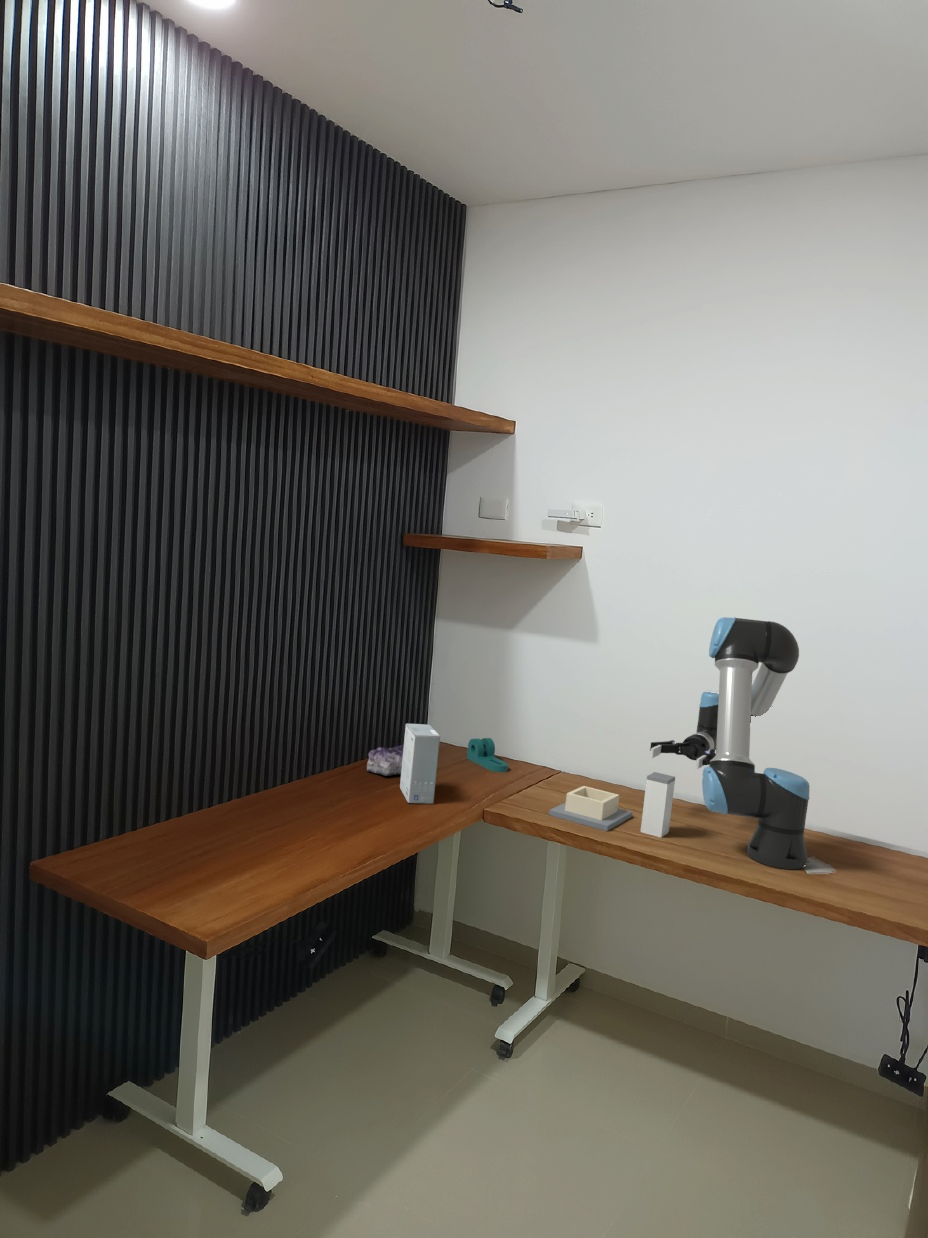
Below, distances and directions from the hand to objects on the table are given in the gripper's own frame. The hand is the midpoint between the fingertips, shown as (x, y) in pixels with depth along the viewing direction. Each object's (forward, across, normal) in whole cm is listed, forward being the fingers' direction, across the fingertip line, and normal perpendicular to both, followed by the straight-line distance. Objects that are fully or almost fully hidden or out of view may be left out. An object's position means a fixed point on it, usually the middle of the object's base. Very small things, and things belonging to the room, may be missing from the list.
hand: (674, 758), depth 257 cm
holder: (+12, +19, -19) cm, 29 cm away
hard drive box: (+36, +64, -19) cm, 75 cm away
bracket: (-13, +68, -20) cm, 72 cm away
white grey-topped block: (+10, 0, -19) cm, 22 cm away
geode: (+20, +82, -20) cm, 87 cm away
